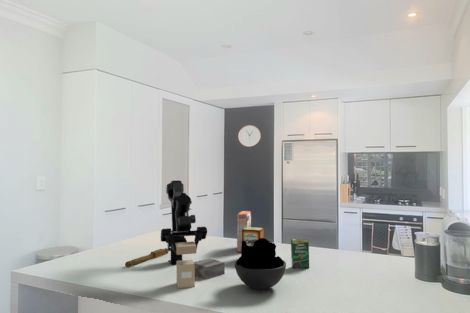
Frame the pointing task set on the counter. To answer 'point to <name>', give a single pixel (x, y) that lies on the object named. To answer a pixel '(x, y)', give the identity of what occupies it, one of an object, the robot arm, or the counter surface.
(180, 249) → the box lid
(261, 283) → the coal bowl
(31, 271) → the counter surface
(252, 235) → the baking soda box
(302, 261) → the coffee box
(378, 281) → the counter surface
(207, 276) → the block
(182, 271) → the box
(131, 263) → the tap handle
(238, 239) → the cracker box
